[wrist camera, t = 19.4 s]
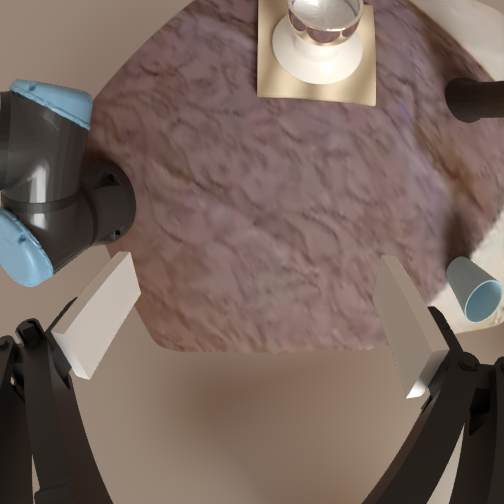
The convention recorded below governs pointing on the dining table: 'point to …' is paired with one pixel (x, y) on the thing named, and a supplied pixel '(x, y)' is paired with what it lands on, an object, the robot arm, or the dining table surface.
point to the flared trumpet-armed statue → (475, 99)
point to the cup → (474, 289)
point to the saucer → (309, 70)
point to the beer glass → (323, 26)
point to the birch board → (286, 86)
